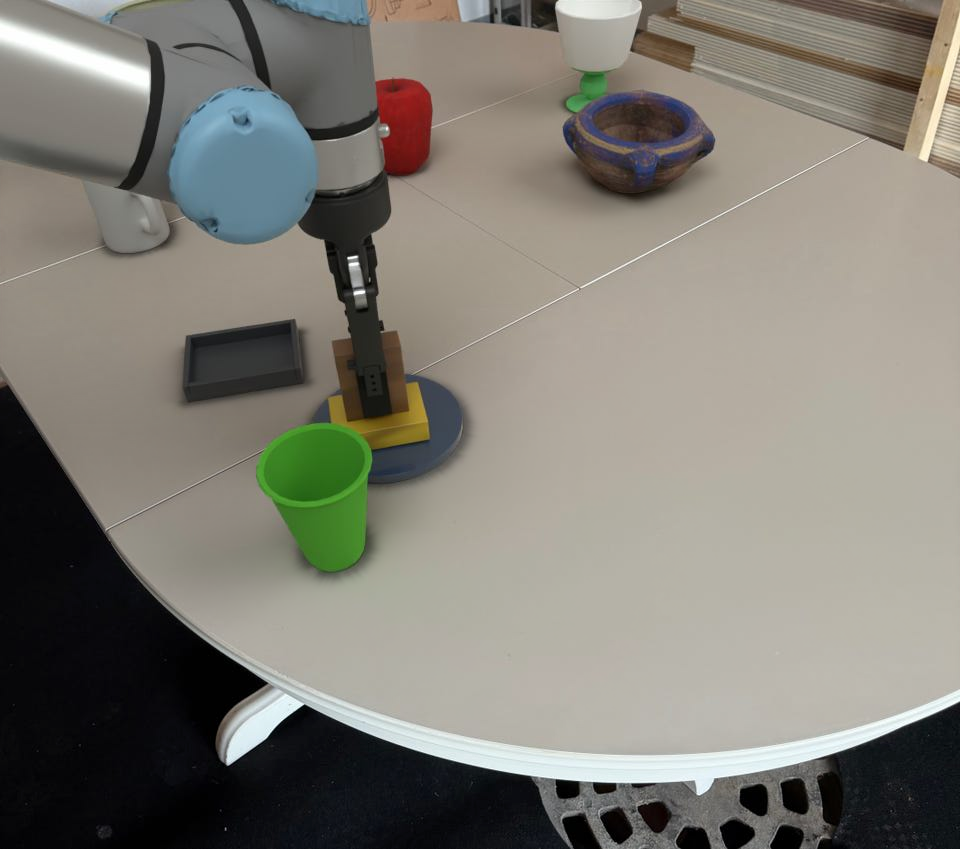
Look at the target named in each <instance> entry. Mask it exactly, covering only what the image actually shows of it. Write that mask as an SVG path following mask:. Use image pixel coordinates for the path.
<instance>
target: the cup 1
mask: <svg viewBox="0 0 960 849" xmlns="http://www.w3.org/2000/svg"><path fill="white" fill-rule="evenodd" d="M371 464H372V452H371V449H370V447H369V445H368V443H367V441H366V440H365V439H364V438H363V437H362V436H361V435H360V434H359V433H357V432H356V431H354V430H352V429H351V428H348V427H345V426H342V425H339V424H331V423H315V424H313V423H309V424H303V425H300V426H297V427H295V428H293V429H289V430H288V431H285V432H284V433H282V434H281V435H279V436H277V437H276V438H274V439H273V440H272V441H271V442H270V443H269V444H268V445H267V446H266V447H265V449H264V450H263V452H262V453H261V454H260V456H259V459H258V462H257V465H256V472H255V477H256V481H257V484H258V487H259V489H261V491H262V492H263V494H264V495H265V496H267V497H268V498H269V499H271V501H272V502H273V504H274V506H275V507H276V509H277V511H278V513H279V514H280V517H281V518H282V519H283V522H284V523H285V525H286V526H287V528H288V530H289V532H290V533H291V535H292V537H293V538H294V540H295V541H296V544H297V546H298V547H299V549H300V550H301V552H302V554H303V556H304V557H305V559H306V561H307V562H308V563H309V564H310V565H311V566H313V567H314V568H316V569H317V570H320V571H323V572H329V573H334V572H341V571H344V570H347V569H348V568H351V567H352V566H354V565H355V564H356V563H357V562H358V560H359V559H361V556H362V554H363V553H364V550H365V546H366V534H367V532H366V531H367V530H366V529H367V505H368V504H367V503H368V502H367V501H368V482H367V481H368V473H369V471H370V468H371Z"/></svg>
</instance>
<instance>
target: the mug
mask: <svg viewBox="0 0 960 849" xmlns="http://www.w3.org/2000/svg"><path fill="white" fill-rule="evenodd" d="M80 180H81V179H80ZM81 184H82V187H83V189H84V191H85V194H86V197H87V200H88V202H89V204H90V206H91V209H92V212H93V214H94V217H95V220H96V222H97V225H98V227H99V231H100V234H101V236H102V239H103V241H104V244H105V245H106V247H107V248H108V249H109V250H111V251H112V252H115V253H118V254H136V253H137V254H138V253H142V252H147V251H150V250H152V249H154V248H157V247H158V246H160V245H161V244H163V243H164V242H165V241H166V240H167V239H168V238H169V236H170V231H171V229H170V225H169V222H168V219H167V216H166V214H165V211H164V208H163V206H162V201H161V200H158V199H155V198H151V197H147V196H144V195H140V194H136V193H133V192H129V191H126V190H122V189H117V188H113V187H109V186H105V185H101V184H97V183H93V182H89V181H85V180H81Z"/></svg>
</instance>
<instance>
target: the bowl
mask: <svg viewBox="0 0 960 849" xmlns="http://www.w3.org/2000/svg"><path fill="white" fill-rule="evenodd" d="M562 136H563V138H564V141H565V143H566V145H567V146H568V147H569V149H570V150H571V152H573V154H574V155H575V156H576V157H577V159H578V160H579V161H580V163H581V164H582V165H583V167H584V168H585V169H586V170H587V172H588V174H589V175H590V176H591V177H593V179H595V181H597V182H599V183H600V184H602V185H603V186H604V187H606V188H608V189H610V190H611V191H614V192H618V193H623V194H639V193H644V192H649V191H652V190H655V189H658V188H660V187H663V186H666V185H668V184H670V183H672V182H674V181H676V180H677V179H679V178H681V177H682V176H683V175H685V174H686V173H687V172H688V171H689V170H690V169H691V168H692V166H693V165H694V164H695V163H697V162H699V161H700V160H701V159H704V158H705V157H707V156H708V155H709V154H711V153H712V151H713V150H714V149H715V146H716V137H715V135H714V133H713V131H712V130H711V129H710V128H709V126H707V125H706V123H705V121H703V119H702V118H701V116H700V115H699V114H698V112H697V111H696V110H695V109H694V108H693V107H692V106H690V105H689V104H687V103H686V102H684V101H682V100H680V99H677V98H675V97H672V96H670V95H665V94H662V93H657V92H654V91H650V90H646V89H636V90H635V89H634V90H627V91H621V92H613V93H608V94H607V95H605V96H602V97H599V98H597V99H595V100H593V101H591V102H589V103H587V104H586V105H584V106H583V107H582V108H581V109H580V110H579V111H578V112H577V113H574V114H573V115H571V116H570V117H568V118H567V119H566V121H565V122H564V123H563V125H562Z"/></svg>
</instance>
